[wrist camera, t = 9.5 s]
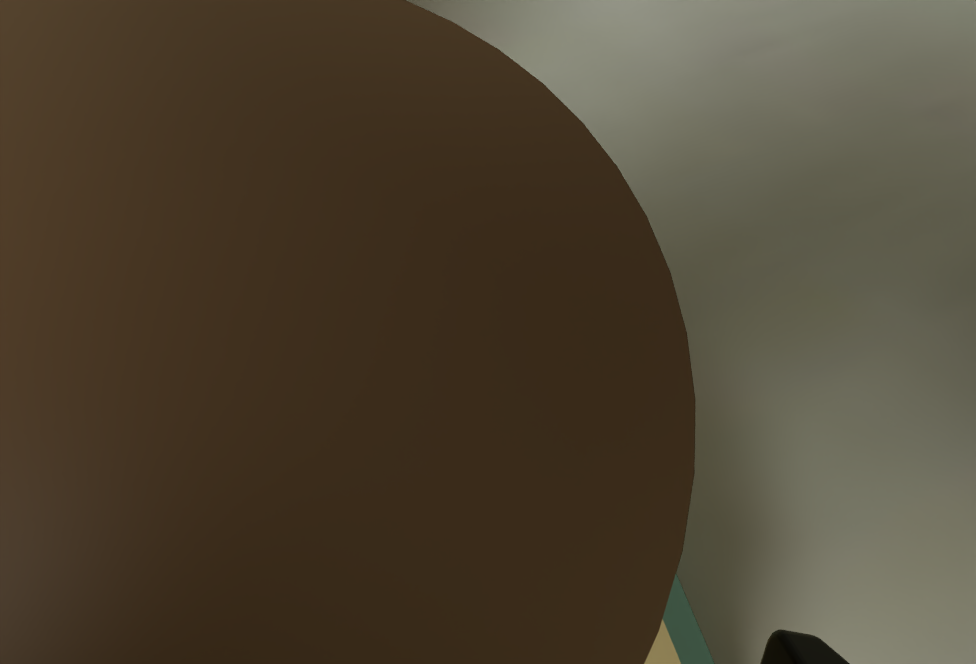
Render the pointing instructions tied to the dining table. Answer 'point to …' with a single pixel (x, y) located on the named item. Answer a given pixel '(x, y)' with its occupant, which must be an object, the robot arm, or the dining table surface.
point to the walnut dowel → (323, 348)
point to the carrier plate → (679, 634)
